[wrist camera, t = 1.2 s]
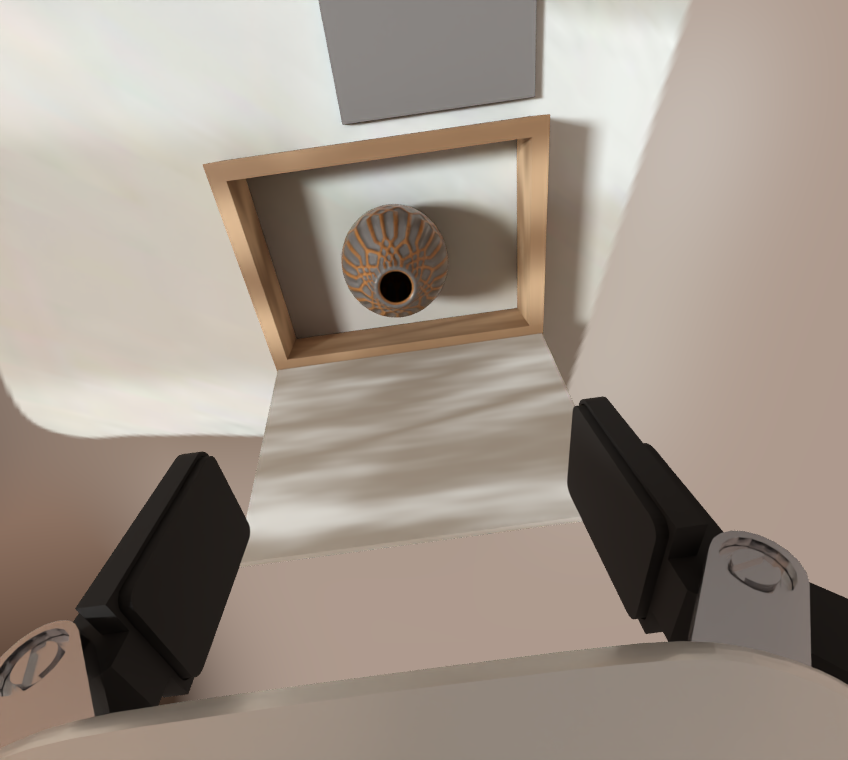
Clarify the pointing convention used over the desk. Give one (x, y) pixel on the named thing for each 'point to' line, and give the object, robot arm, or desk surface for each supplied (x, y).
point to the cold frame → (405, 388)
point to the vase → (394, 260)
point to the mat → (428, 54)
